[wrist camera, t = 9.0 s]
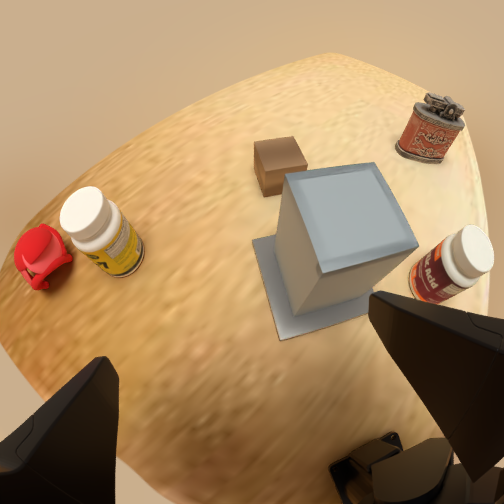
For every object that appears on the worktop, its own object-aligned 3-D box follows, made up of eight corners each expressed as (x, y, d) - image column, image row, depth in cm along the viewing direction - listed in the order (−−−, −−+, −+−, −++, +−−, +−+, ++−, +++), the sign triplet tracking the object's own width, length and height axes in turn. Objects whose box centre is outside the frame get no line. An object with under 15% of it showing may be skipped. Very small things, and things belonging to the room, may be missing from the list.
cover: (359, 297, 22) (419, 245, 13) (293, 317, 21) (322, 273, 12) (336, 236, 25) (374, 162, 15) (273, 250, 24) (284, 174, 15)
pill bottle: (405, 259, 24) (452, 214, 16) (441, 264, 24) (489, 224, 16) (409, 306, 22) (464, 273, 14) (445, 307, 22) (501, 278, 14)
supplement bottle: (94, 261, 24) (46, 218, 16) (123, 225, 26) (85, 173, 18) (124, 288, 23) (74, 248, 15) (155, 248, 25) (119, 195, 17)
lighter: (436, 149, 31) (464, 99, 22) (444, 166, 30) (477, 116, 21) (391, 140, 31) (417, 82, 22) (399, 158, 30) (430, 99, 21)
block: (301, 190, 27) (307, 164, 24) (263, 197, 27) (265, 171, 23) (289, 162, 29) (293, 136, 25) (253, 168, 29) (253, 141, 25)
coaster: (377, 309, 22) (379, 308, 22) (279, 340, 21) (280, 340, 21) (342, 222, 26) (343, 219, 25) (252, 242, 25) (252, 239, 24)
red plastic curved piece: (76, 251, 21) (45, 200, 20) (29, 291, 17) (-2, 236, 16) (75, 269, 27) (49, 228, 26) (39, 299, 23) (12, 257, 22)
